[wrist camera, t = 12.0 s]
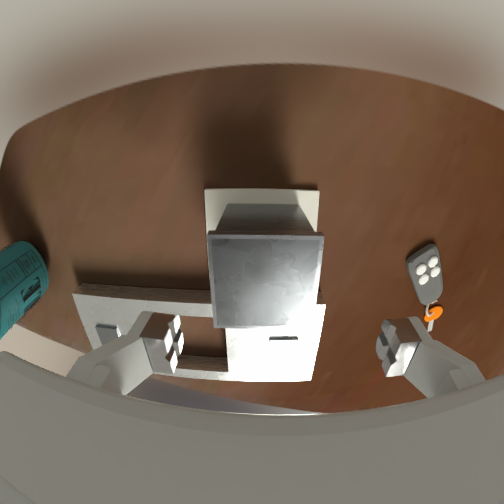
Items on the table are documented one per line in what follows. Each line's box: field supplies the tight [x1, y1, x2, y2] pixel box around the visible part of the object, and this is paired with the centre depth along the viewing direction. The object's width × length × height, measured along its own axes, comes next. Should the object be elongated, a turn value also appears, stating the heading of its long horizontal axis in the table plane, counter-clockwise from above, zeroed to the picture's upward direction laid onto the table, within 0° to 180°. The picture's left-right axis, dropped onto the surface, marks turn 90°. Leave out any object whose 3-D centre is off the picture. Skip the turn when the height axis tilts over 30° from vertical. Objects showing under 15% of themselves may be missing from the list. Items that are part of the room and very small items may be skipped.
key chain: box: [406, 244, 443, 332], centre depth 22 cm, size 13×4×2 cm, turn 32°
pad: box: [205, 188, 319, 277], centre depth 20 cm, size 8×7×1 cm
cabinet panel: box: [72, 283, 326, 381], centre depth 23 cm, size 22×9×2 cm, turn 90°
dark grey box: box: [207, 204, 324, 329], centre depth 17 cm, size 5×5×7 cm
